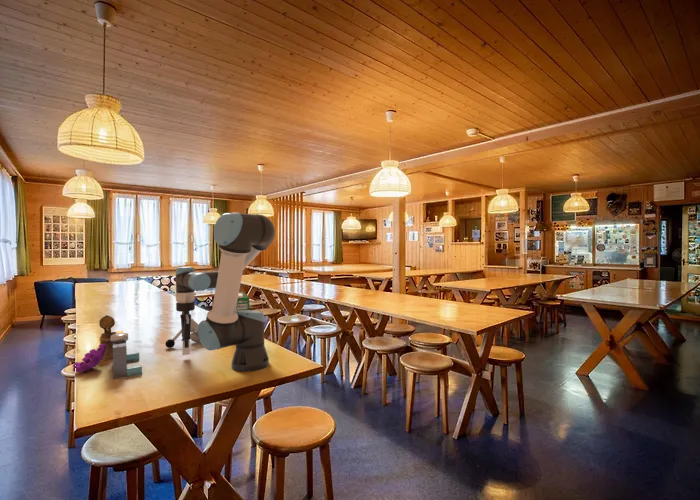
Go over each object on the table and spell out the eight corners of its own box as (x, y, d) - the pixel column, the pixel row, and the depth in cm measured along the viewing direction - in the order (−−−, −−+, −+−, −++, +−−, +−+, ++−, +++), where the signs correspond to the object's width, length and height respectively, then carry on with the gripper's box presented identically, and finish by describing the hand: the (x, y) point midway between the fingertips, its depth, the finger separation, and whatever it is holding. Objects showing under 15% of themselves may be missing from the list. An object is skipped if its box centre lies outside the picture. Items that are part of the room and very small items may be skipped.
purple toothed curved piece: (106, 362, 156) (105, 340, 156) (106, 373, 144) (105, 349, 144) (73, 368, 150) (73, 345, 150) (70, 379, 137) (70, 354, 137)
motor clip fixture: (142, 374, 141) (141, 338, 141) (110, 380, 136) (110, 342, 136) (139, 359, 160) (138, 327, 160) (111, 363, 155) (111, 330, 155)
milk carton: (233, 343, 185) (232, 294, 185) (226, 339, 192) (226, 293, 192) (250, 340, 191) (249, 293, 191) (243, 336, 198) (242, 291, 198)
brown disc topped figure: (118, 351, 173) (117, 313, 173) (122, 357, 163) (122, 318, 163) (95, 354, 168) (95, 316, 167) (98, 362, 157) (98, 321, 157)
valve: (214, 334, 188) (194, 316, 182) (190, 364, 178) (167, 345, 171) (205, 333, 195) (186, 315, 189) (181, 361, 185) (159, 343, 178)
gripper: (197, 302, 157) (197, 356, 157) (192, 298, 168) (192, 349, 168) (178, 304, 153) (178, 359, 153) (174, 300, 164) (175, 351, 164)
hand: (186, 354), depth 161 cm, fingers closed
